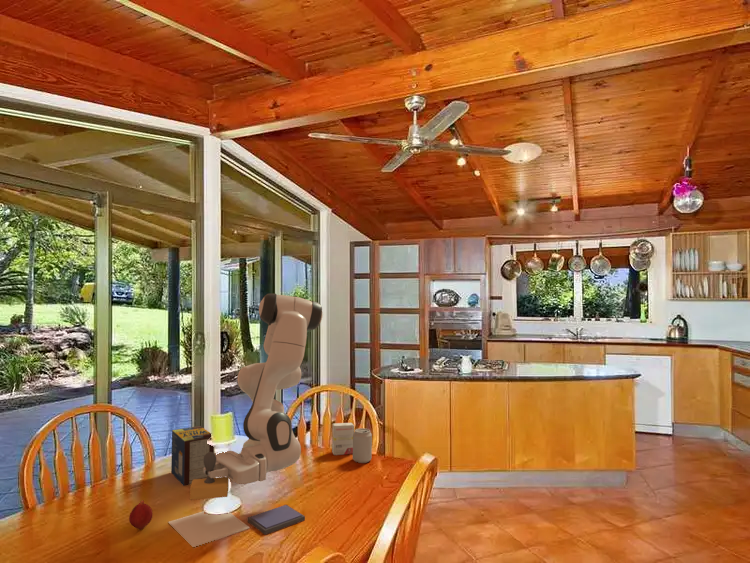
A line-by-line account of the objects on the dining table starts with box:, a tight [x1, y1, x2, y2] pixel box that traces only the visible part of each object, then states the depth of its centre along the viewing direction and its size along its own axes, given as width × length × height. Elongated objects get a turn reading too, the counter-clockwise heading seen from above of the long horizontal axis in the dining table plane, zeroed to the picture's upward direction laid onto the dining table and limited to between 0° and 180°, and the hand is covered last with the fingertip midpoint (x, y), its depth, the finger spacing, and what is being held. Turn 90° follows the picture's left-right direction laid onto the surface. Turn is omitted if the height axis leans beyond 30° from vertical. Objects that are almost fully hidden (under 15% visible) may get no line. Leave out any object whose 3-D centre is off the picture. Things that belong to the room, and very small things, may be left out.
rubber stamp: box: [189, 452, 230, 501], centre depth 139 cm, size 10×6×12 cm, turn 103°
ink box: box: [331, 422, 355, 456], centre depth 202 cm, size 9×5×12 cm, turn 104°
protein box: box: [170, 425, 215, 487], centre depth 175 cm, size 10×15×16 cm
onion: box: [128, 500, 154, 531], centre depth 136 cm, size 6×6×8 cm
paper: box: [167, 510, 250, 548], centre depth 139 cm, size 18×16×1 cm
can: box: [352, 427, 373, 464], centre depth 193 cm, size 8×8×12 cm
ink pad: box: [247, 504, 306, 536], centre depth 142 cm, size 10×13×2 cm
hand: (206, 473), depth 138 cm, fingers closed on rubber stamp
